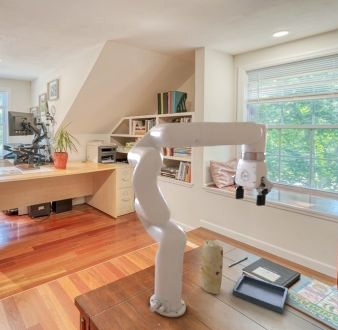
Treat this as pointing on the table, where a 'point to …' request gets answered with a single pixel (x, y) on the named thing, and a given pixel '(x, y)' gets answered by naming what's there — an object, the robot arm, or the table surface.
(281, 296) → the serving tray
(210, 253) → the food model
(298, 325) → the table surface
